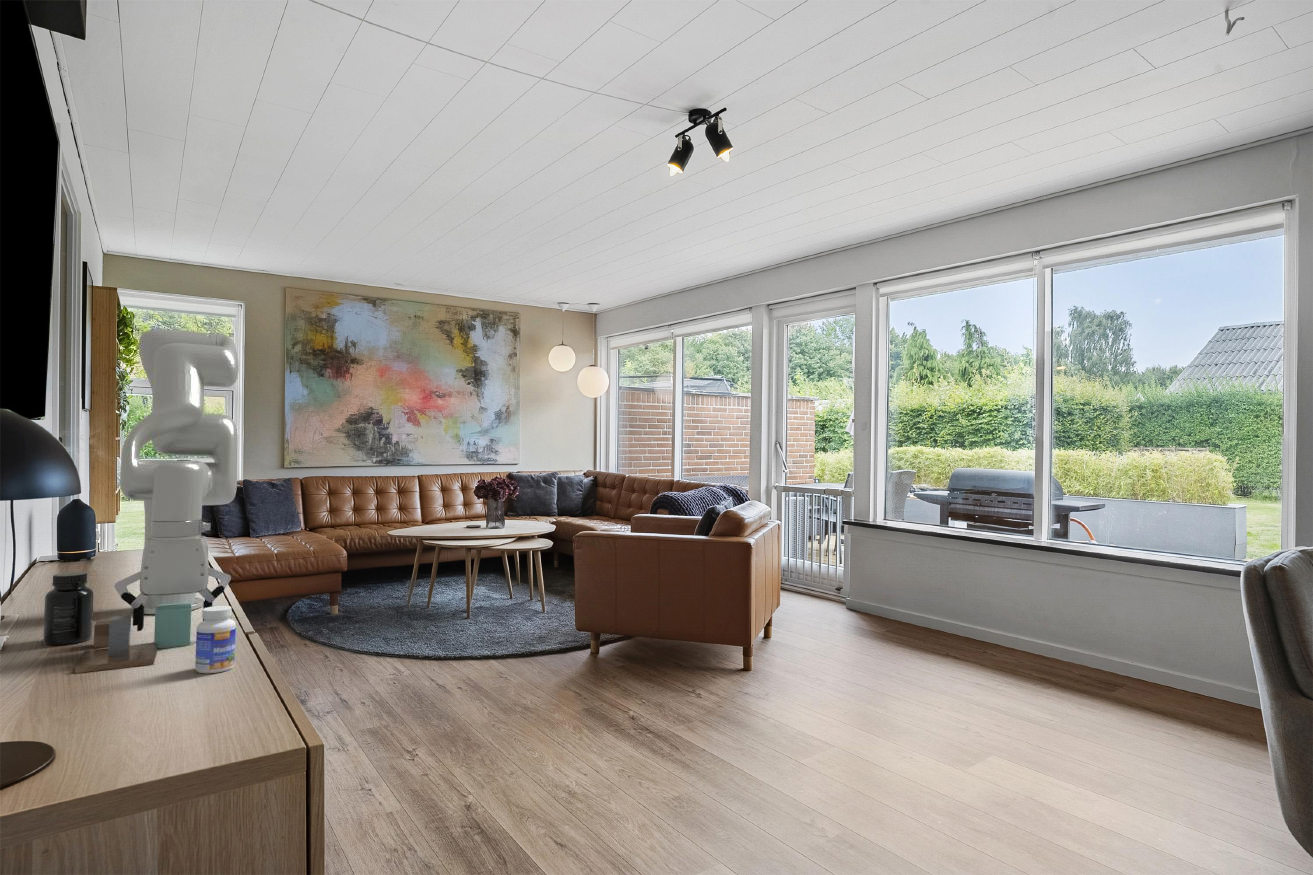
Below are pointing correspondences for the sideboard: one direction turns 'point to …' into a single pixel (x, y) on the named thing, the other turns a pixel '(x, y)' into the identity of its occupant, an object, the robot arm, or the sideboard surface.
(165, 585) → the robot arm
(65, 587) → the supplement bottle
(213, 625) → the pill bottle
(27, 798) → the sideboard surface
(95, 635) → the tan cardboard cube
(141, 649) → the brown square base
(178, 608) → the teal rectangular block
